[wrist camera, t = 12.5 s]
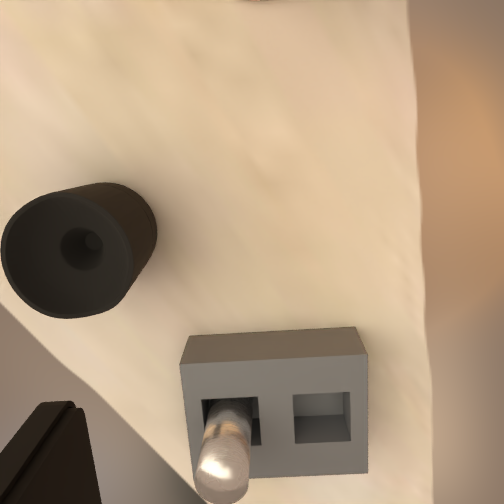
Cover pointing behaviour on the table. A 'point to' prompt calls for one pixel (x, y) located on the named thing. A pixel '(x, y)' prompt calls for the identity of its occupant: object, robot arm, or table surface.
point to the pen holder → (78, 249)
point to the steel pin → (225, 451)
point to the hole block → (285, 397)
